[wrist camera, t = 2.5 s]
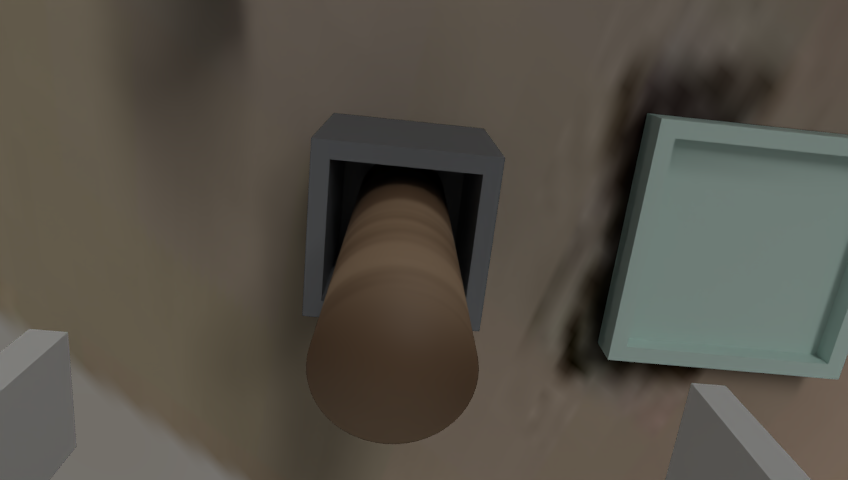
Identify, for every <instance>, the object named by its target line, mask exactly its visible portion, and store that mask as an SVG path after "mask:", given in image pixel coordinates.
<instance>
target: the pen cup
mask: <svg viewBox="0 0 848 480" xmlns="http://www.w3.org/2000/svg"><path fill="white" fill-rule="evenodd" d="M504 162H505V157H504V156H503V154H502V153H501V151H500V150H499V149H498V147H497V146H496V145H495V143H494V142H493V141H492V139H491V138H490V136H489V135H488V134H487V132H486V131H485V130H484V129H482V128H472V127H462V126H453V125H443V124H434V123H424V122H414V121H405V120H395V119H386V118H376V117H367V116H357V115H347V114H338V113H334V114H333V115H332V116H331V117H330V118H329V119H328V120H327V121H326V122H325V123H324V125H323V126H322V127H321V128H320V129H319V130H318V131H317V132H316V133H315V134H314V135H313V137H312V138H311V152H310V172H309V192H308V213H307V233H306V253H305V273H304V293H303V313H302V316H311V317H319V315H320V312H321V309H322V306H323V303H324V300H325V297H326V294H327V290H328V287H329V284H330V281H331V278H332V275H333V272H334V269H335V265H336V262H337V259H338V256H339V253H340V250H341V247H342V244H343V240H344V237H345V234H346V231H347V228H348V225H349V222H350V219H351V215H352V212H353V209H354V206H355V203H356V200H357V197H358V194H359V190H360V187H361V184H362V181H363V179H364V177H365V175H366V174H367V172H368V171H369V170H370V169H371V168H372V167H373V166H374V165H375V164H382V165H392V166H402V167H412V168H422V169H432V170H435V171H436V173H437V174H438V176H439V177H440V179H441V182H442V184H443V189H444V193H445V198H446V203H447V208H448V213H449V218H450V223H451V228H452V233H453V238H454V243H455V248H456V253H457V257H458V262H459V267H460V272H461V277H462V282H463V287H464V292H465V297H466V302H467V307H468V312H469V317H470V322H471V326H472V331H479V330H480V323H481V317H482V310H483V303H484V296H485V290H486V283H487V276H488V269H489V263H490V256H491V249H492V243H493V236H494V229H495V222H496V216H497V209H498V202H499V195H500V189H501V182H502V175H503V169H504Z"/></svg>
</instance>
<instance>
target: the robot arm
mask: <svg viewBox="0 0 848 480" xmlns="http://www.w3.org/2000/svg"><path fill="white" fill-rule="evenodd" d="M75 448H76V434H75V420H74V407H73V394H72V380H71V366H70V353H69V339H68V332H60V331H48V330H35V329H29V330H27V331H26V332H25V333H24V334H22V335H21V336H20V337H18V338H17V339H16V340H15V341H13V342H12V343H11V344H9V345H8V346H7V347H6V348H4V349H3V350H2V351H0V480H50V479H51V477H52V476H53V475H54V474H55V472H56V471H57V470H58V469H59V468H60V466H61V465H62V464H63V463H64V461H65V460H66V459H67V458H68V456H69V455H70V454H71V453H72V451H73V450H74V449H75ZM665 480H811V479H810V478H809V477H808V476H807V474H806V473H805V472H804V471H803V470H802V469H801V468H800V467H799V466H798V465H797V463H796V462H795V461H794V460H793V459H792V458H791V457H790V456H789V455H788V454H787V453H786V451H785V450H784V449H783V448H782V447H781V446H780V445H779V444H778V443H777V442H776V440H775V439H774V438H773V437H772V436H771V435H770V434H769V433H768V432H767V431H766V430H765V428H764V427H763V426H762V425H761V424H760V423H759V422H758V421H757V420H756V419H755V417H754V416H753V415H752V414H751V413H750V412H749V411H748V410H747V409H746V408H745V407H744V405H743V404H742V403H741V402H740V401H739V400H738V399H737V398H736V397H735V396H734V394H733V393H732V392H731V391H730V390H729V389H728V388H727V387H726V386H723V385H710V384H698V383H691V386H690V390H689V393H688V397H687V401H686V405H685V408H684V412H683V416H682V420H681V423H680V427H679V431H678V434H677V438H676V442H675V446H674V449H673V453H672V457H671V461H670V464H669V468H668V472H667V476H666V479H665Z"/></svg>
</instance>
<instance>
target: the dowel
mask: <svg viewBox="0 0 848 480" xmlns="http://www.w3.org/2000/svg"><path fill="white" fill-rule="evenodd" d="M478 371H479V365H478V356H477V351H476V346H475V341H474V336H473V331H472V326H471V322H470V317H469V312H468V307H467V302H466V297H465V292H464V287H463V282H462V277H461V272H460V267H459V262H458V257H457V253H456V248H455V243H454V238H453V233H452V228H451V223H450V218H449V213H448V208H447V203H446V198H445V193H444V189H443V184H442V182H441V179H440V177H439V176H438V174H437V173H436V171H435V170H432V169H422V168H412V167H402V166H392V165H382V164H375V165H374V166H373V167H372V168H371V169H370V170H369V171H368V172H367V174H366V175H365V177H364V179H363V181H362V184H361V187H360V190H359V194H358V197H357V200H356V203H355V206H354V209H353V212H352V215H351V219H350V222H349V225H348V228H347V231H346V234H345V237H344V240H343V244H342V247H341V250H340V253H339V256H338V259H337V262H336V265H335V269H334V272H333V275H332V278H331V281H330V284H329V287H328V290H327V294H326V297H325V300H324V303H323V306H322V309H321V312H320V315H319V319H318V322H317V325H316V328H315V331H314V334H313V337H312V340H311V344H310V347H309V350H308V354H307V362H306V375H307V380H308V385H309V388H310V391H311V394H312V396H313V398H314V400H315V402H316V404H317V405H318V407H319V408H320V410H321V411H322V412H323V413H324V414H325V416H326V417H327V418H328V419H329V420H330V421H332V422H333V423H334V424H335V425H336V426H338V427H339V428H341V429H342V430H344V431H345V432H347V433H349V434H351V435H353V436H355V437H358V438H361V439H363V440H367V441H371V442H376V443H383V444H402V443H410V442H415V441H419V440H422V439H425V438H428V437H430V436H432V435H434V434H437V433H438V432H440V431H442V430H443V429H445V428H446V427H448V426H449V425H450V424H451V423H453V422H454V421H455V420H456V419H457V418H458V417H459V416H460V415H461V414H462V412H463V411H464V410H465V409H466V407H467V406H468V404H469V402H470V400H471V399H472V397H473V394H474V391H475V389H476V385H477V380H478Z"/></svg>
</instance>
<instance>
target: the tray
mask: <svg viewBox="0 0 848 480" xmlns="http://www.w3.org/2000/svg"><path fill="white" fill-rule="evenodd" d="M598 344H599V346H600V347H601V349H602V351H603V352H604V354H605V356H606V357H607V359H608V360H617V361H629V362H640V363H652V364H664V365H675V366H687V367H699V368H710V369H722V370H733V371H745V372H757V373H768V374H780V375H792V376H803V377H815V378H826V379H839V377H840V374H841V371H842V368H843V365H844V363H845V360H846V357H847V354H848V135H846V134H836V133H827V132H818V131H808V130H799V129H790V128H780V127H771V126H762V125H752V124H743V123H734V122H724V121H715V120H706V119H696V118H687V117H678V116H668V115H659V114H650V113H647V117H646V121H645V126H644V131H643V135H642V140H641V144H640V149H639V154H638V158H637V163H636V168H635V172H634V177H633V182H632V186H631V191H630V195H629V200H628V205H627V209H626V214H625V219H624V223H623V228H622V232H621V237H620V242H619V246H618V251H617V256H616V260H615V265H614V270H613V274H612V279H611V283H610V288H609V293H608V297H607V302H606V307H605V311H604V316H603V320H602V325H601V330H600V334H599V339H598Z"/></svg>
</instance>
